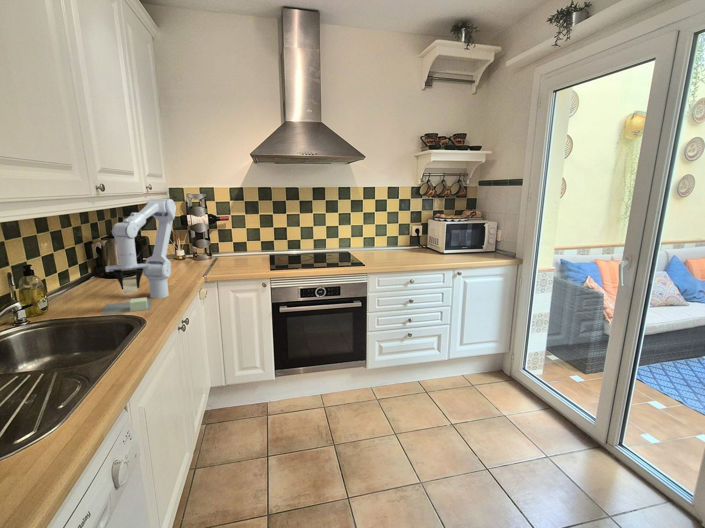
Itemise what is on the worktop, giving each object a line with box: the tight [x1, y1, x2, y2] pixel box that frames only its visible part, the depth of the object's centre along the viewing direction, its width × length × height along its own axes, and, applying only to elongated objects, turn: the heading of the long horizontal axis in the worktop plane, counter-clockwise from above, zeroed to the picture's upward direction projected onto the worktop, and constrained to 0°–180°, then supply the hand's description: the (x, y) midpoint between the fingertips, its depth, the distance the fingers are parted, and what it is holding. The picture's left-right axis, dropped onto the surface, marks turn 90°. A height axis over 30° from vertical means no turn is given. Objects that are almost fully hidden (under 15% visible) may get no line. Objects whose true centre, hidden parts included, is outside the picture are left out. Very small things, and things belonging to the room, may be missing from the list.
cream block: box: [122, 276, 139, 294], centre depth 136 cm, size 4×4×5 cm
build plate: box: [100, 299, 152, 317], centre depth 139 cm, size 15×16×1 cm
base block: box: [129, 297, 148, 312], centre depth 137 cm, size 6×6×4 cm
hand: (130, 288), depth 136 cm, fingers closed on cream block, 4 cm apart
